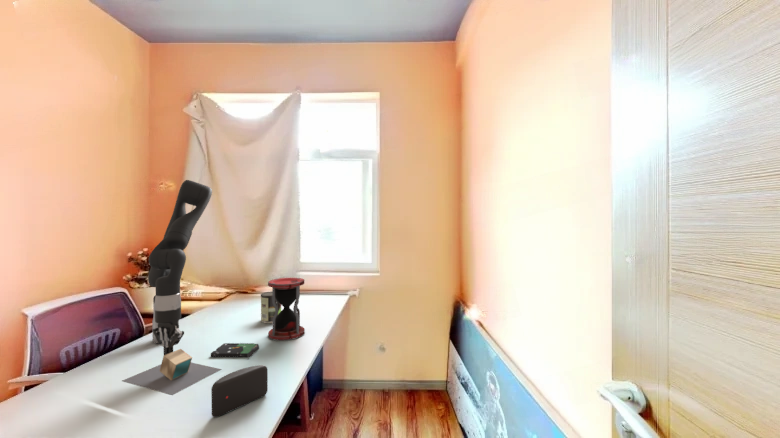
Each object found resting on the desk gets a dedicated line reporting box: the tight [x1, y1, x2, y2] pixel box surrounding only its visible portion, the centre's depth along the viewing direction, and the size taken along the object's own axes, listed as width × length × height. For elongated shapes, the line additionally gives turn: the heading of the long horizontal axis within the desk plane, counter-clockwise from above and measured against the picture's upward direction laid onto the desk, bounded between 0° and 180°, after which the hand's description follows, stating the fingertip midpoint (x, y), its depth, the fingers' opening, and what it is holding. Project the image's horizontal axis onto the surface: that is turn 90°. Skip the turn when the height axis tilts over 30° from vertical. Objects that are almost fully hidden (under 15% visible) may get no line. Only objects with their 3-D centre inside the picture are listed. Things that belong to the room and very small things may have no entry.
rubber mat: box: [121, 361, 222, 396], centre depth 113 cm, size 24×18×1 cm
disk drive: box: [210, 342, 260, 360], centre depth 132 cm, size 10×3×15 cm
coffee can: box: [260, 291, 282, 324], centre depth 174 cm, size 10×10×14 cm
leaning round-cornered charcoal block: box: [211, 364, 269, 418], centre depth 97 cm, size 16×5×9 cm, turn 140°
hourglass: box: [267, 277, 306, 341], centre depth 153 cm, size 16×16×25 cm
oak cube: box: [160, 348, 193, 380], centre depth 113 cm, size 6×6×6 cm
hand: (168, 357), depth 114 cm, fingers closed
